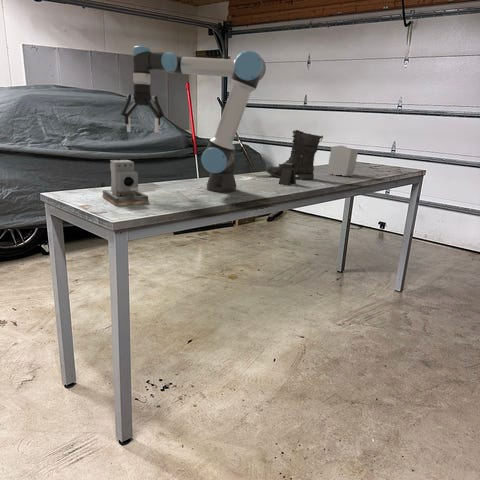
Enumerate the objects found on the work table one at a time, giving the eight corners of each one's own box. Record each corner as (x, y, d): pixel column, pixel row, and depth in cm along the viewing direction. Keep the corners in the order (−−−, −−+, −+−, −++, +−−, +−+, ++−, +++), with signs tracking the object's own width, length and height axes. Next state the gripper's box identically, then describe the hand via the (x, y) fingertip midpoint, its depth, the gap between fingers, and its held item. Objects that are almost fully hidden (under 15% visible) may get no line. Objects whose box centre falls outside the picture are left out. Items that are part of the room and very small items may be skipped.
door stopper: (287, 185, 229) (288, 163, 225) (278, 184, 232) (280, 162, 229) (296, 184, 235) (297, 162, 232) (287, 182, 239) (289, 161, 235)
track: (133, 194, 185) (133, 188, 184) (148, 203, 171) (148, 196, 170) (102, 197, 178) (102, 190, 177) (115, 205, 164) (115, 198, 163)
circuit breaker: (122, 201, 167) (120, 164, 162) (111, 195, 178) (109, 160, 173) (140, 200, 171) (139, 164, 166) (128, 193, 182) (127, 159, 177)
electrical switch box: (356, 179, 281) (362, 149, 277) (345, 177, 270) (351, 146, 266) (337, 176, 290) (342, 147, 286) (326, 174, 279) (332, 144, 275)
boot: (266, 174, 267) (269, 128, 258) (318, 178, 261) (323, 131, 253) (264, 176, 256) (267, 128, 247) (318, 180, 251) (323, 131, 242)
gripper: (164, 86, 196) (164, 131, 203) (111, 81, 183) (114, 131, 189) (170, 85, 190) (170, 132, 197) (117, 81, 177) (119, 132, 183)
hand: (143, 132), depth 193 cm, fingers open, 13 cm apart
